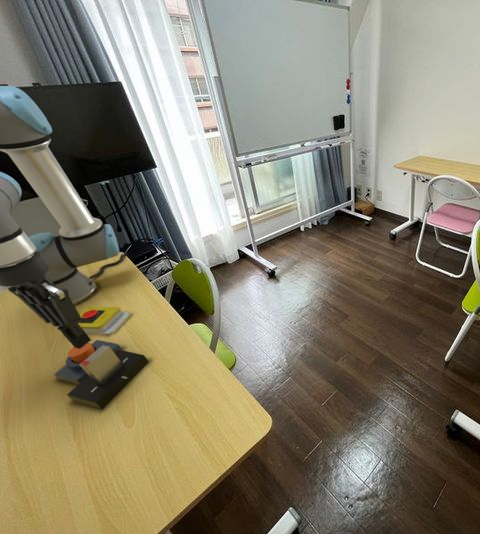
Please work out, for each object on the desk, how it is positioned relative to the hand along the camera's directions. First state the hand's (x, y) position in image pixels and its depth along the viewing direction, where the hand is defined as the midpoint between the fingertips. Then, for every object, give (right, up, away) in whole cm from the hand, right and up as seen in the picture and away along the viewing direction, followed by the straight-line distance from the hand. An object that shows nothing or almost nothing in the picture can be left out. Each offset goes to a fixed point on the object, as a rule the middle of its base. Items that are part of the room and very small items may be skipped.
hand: (83, 343), depth 68 cm
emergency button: (-19, -1, +27) cm, 33 cm away
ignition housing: (-10, -9, +13) cm, 19 cm away
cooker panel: (0, -12, +9) cm, 15 cm away
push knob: (-10, -6, +11) cm, 16 cm away
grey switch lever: (+1, -10, +7) cm, 12 cm away
